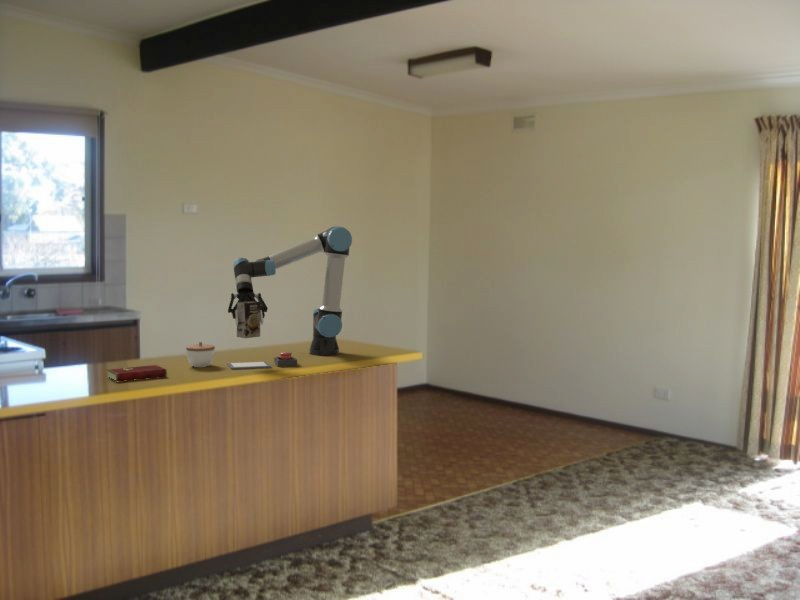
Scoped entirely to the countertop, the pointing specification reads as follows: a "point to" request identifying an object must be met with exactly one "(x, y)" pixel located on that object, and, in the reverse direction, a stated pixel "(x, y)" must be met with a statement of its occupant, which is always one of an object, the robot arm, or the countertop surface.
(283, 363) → the button housing
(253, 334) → the coffee box
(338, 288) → the robot arm
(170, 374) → the countertop surface
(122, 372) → the hardcover book
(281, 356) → the button
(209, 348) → the lidded bowl
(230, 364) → the board
